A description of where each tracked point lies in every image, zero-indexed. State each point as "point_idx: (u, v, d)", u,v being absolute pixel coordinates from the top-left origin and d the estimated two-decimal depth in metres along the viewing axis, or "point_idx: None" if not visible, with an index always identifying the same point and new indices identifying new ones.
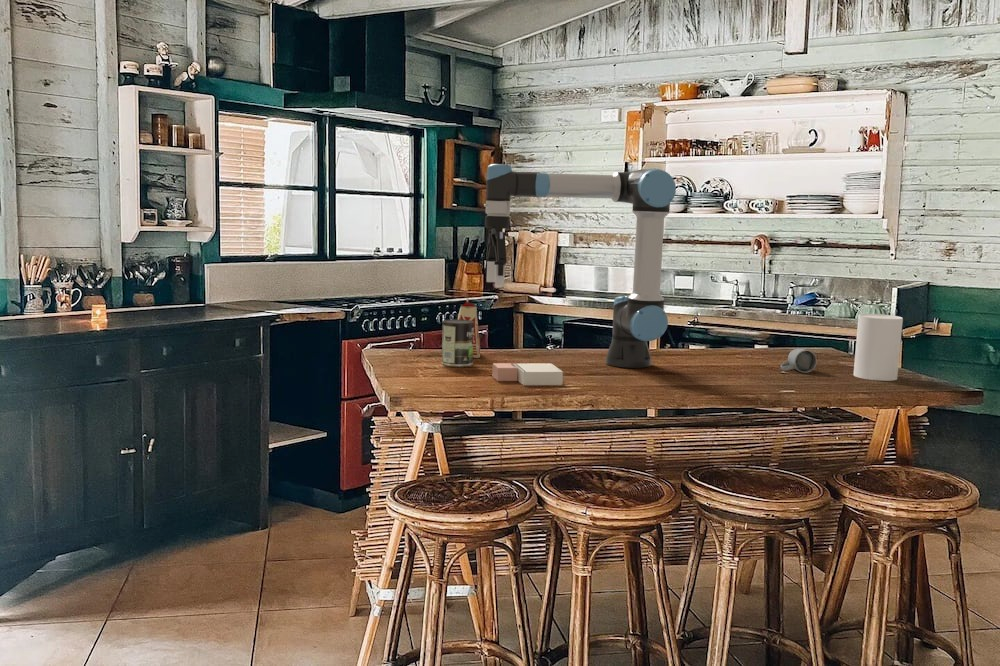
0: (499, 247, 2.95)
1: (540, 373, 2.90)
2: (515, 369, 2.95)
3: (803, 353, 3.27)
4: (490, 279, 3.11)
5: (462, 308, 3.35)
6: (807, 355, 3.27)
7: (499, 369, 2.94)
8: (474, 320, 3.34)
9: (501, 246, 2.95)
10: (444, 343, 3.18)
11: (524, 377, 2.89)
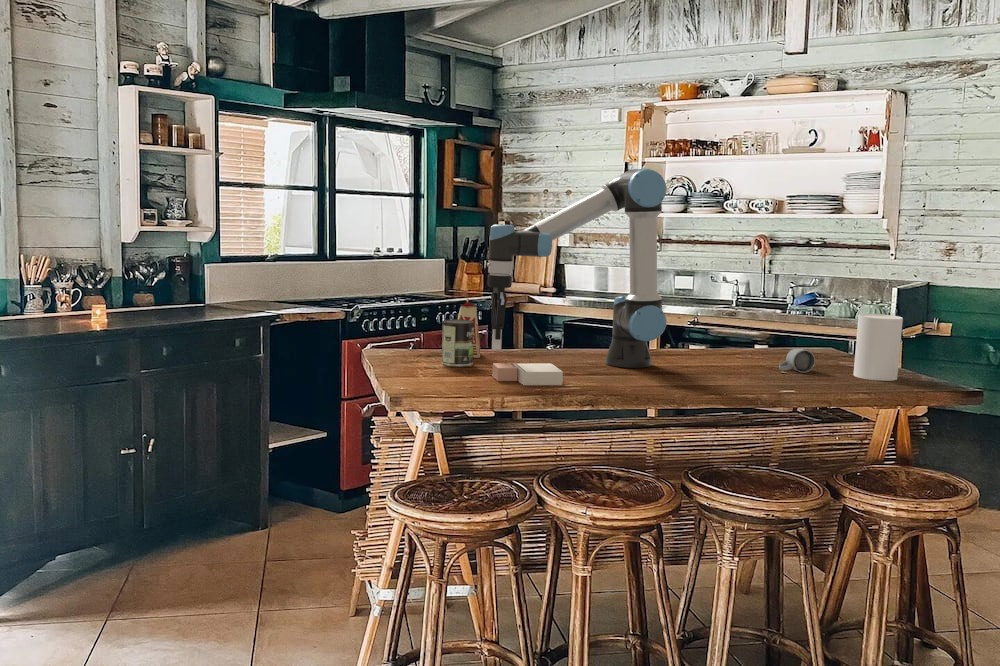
0: (498, 314, 3.03)
1: (540, 373, 2.90)
2: (515, 369, 2.95)
3: (801, 353, 3.27)
4: None
5: (462, 308, 3.35)
6: (805, 355, 3.27)
7: (499, 369, 2.94)
8: (474, 320, 3.34)
9: (501, 312, 3.03)
10: (444, 343, 3.18)
11: (524, 377, 2.89)
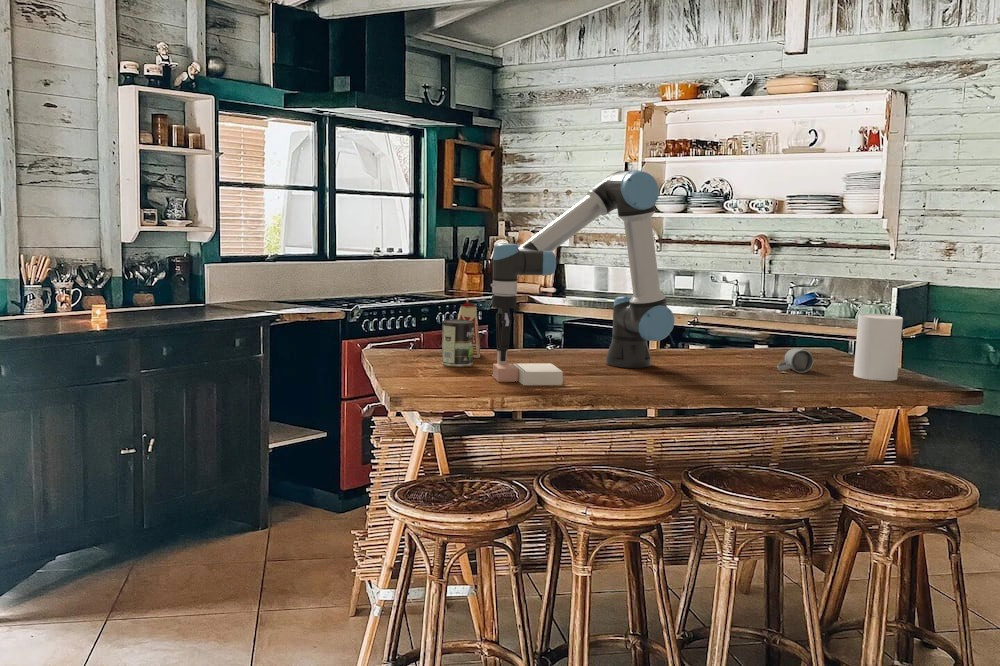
0: (503, 335, 2.96)
1: (540, 373, 2.90)
2: (516, 369, 2.94)
3: (800, 353, 3.27)
4: None
5: (462, 308, 3.35)
6: (804, 355, 3.27)
7: (500, 369, 2.93)
8: (474, 320, 3.34)
9: (506, 334, 2.96)
10: (444, 343, 3.18)
11: (524, 377, 2.89)
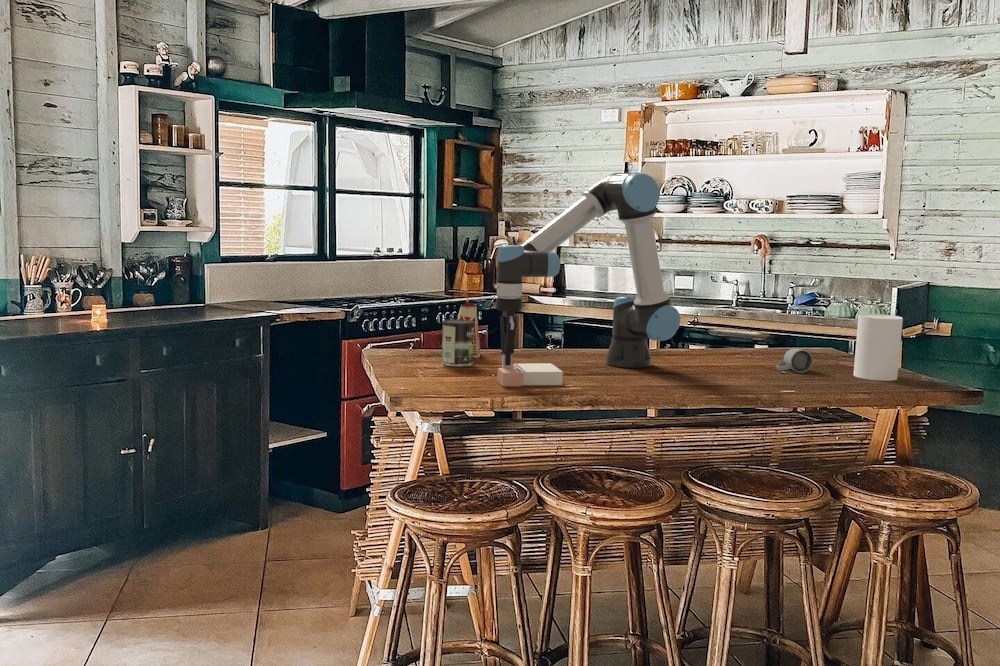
0: (508, 339, 2.89)
1: (540, 373, 2.90)
2: (521, 374, 2.87)
3: (799, 353, 3.27)
4: None
5: (462, 308, 3.35)
6: (803, 355, 3.27)
7: (504, 374, 2.86)
8: (474, 320, 3.34)
9: (511, 337, 2.89)
10: (444, 343, 3.18)
11: (524, 377, 2.89)
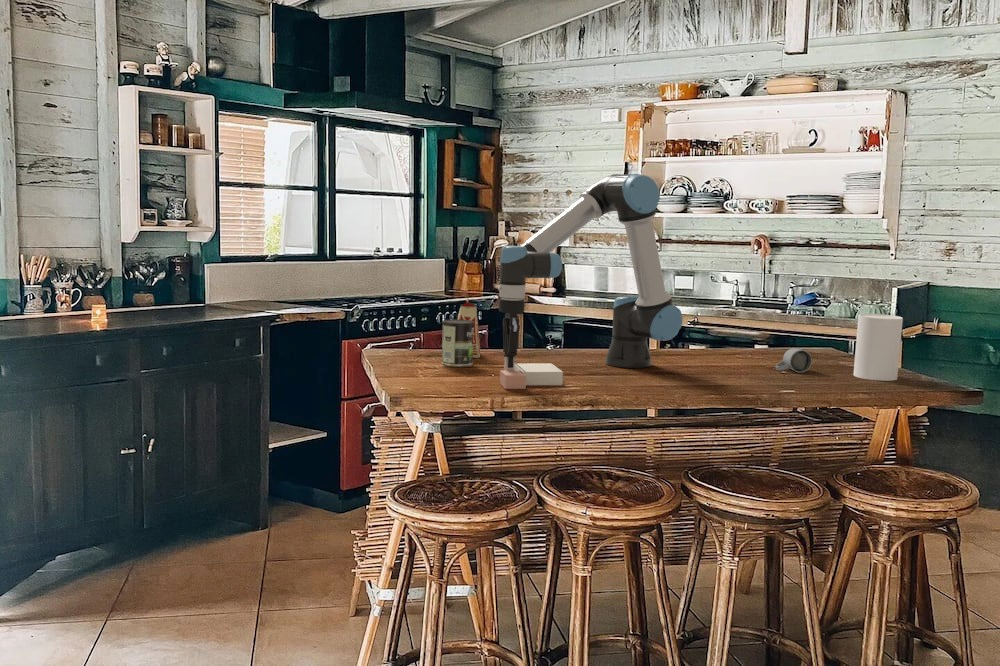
0: (511, 341, 2.85)
1: (540, 373, 2.90)
2: (524, 376, 2.83)
3: (798, 353, 3.27)
4: None
5: (462, 308, 3.34)
6: (802, 355, 3.27)
7: (507, 376, 2.82)
8: (474, 320, 3.34)
9: (514, 339, 2.85)
10: (444, 343, 3.18)
11: None
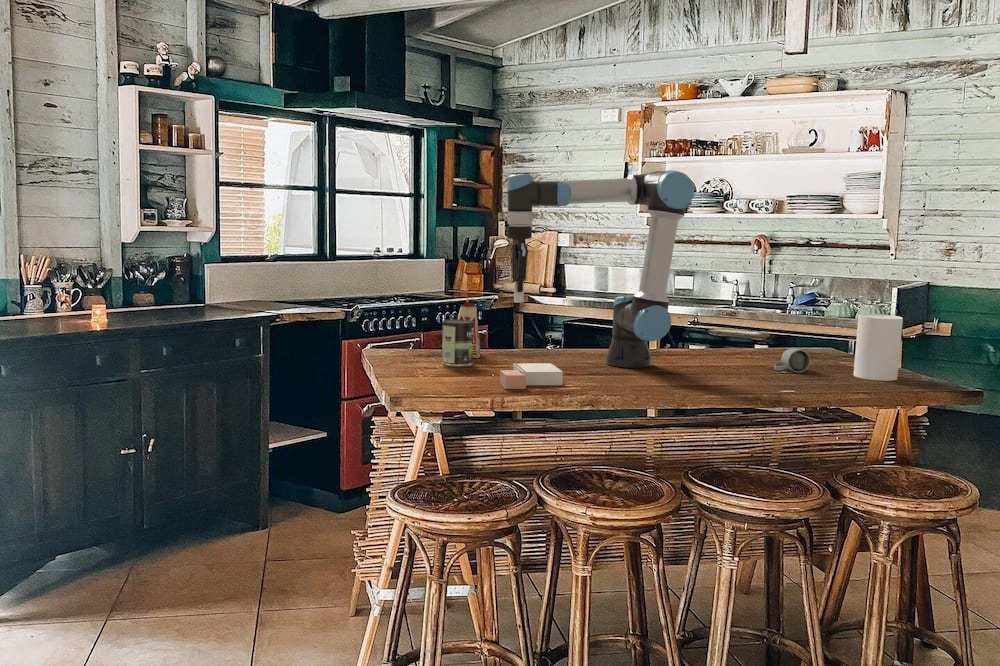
0: (520, 265, 2.98)
1: (540, 373, 2.90)
2: (524, 376, 2.83)
3: (796, 353, 3.27)
4: None
5: (462, 308, 3.35)
6: (800, 355, 3.27)
7: (507, 376, 2.82)
8: (474, 320, 3.34)
9: (523, 264, 2.98)
10: (444, 343, 3.18)
11: None
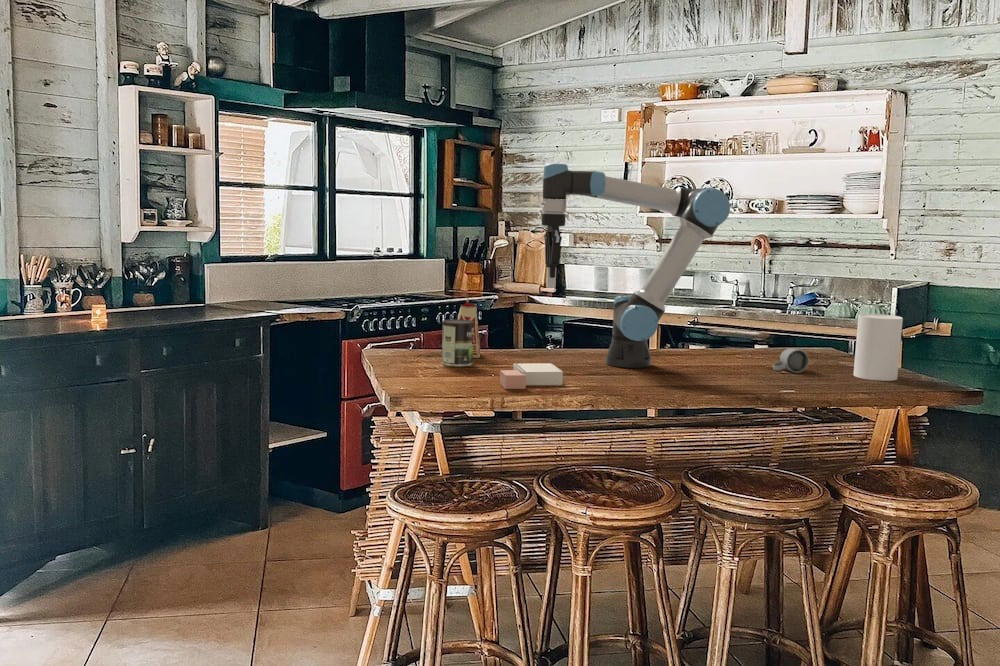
0: (553, 251, 3.07)
1: (540, 373, 2.90)
2: (524, 376, 2.83)
3: (795, 353, 3.27)
4: None
5: (462, 308, 3.35)
6: (799, 355, 3.27)
7: (507, 376, 2.82)
8: (474, 320, 3.34)
9: (556, 250, 3.07)
10: (444, 343, 3.18)
11: None
